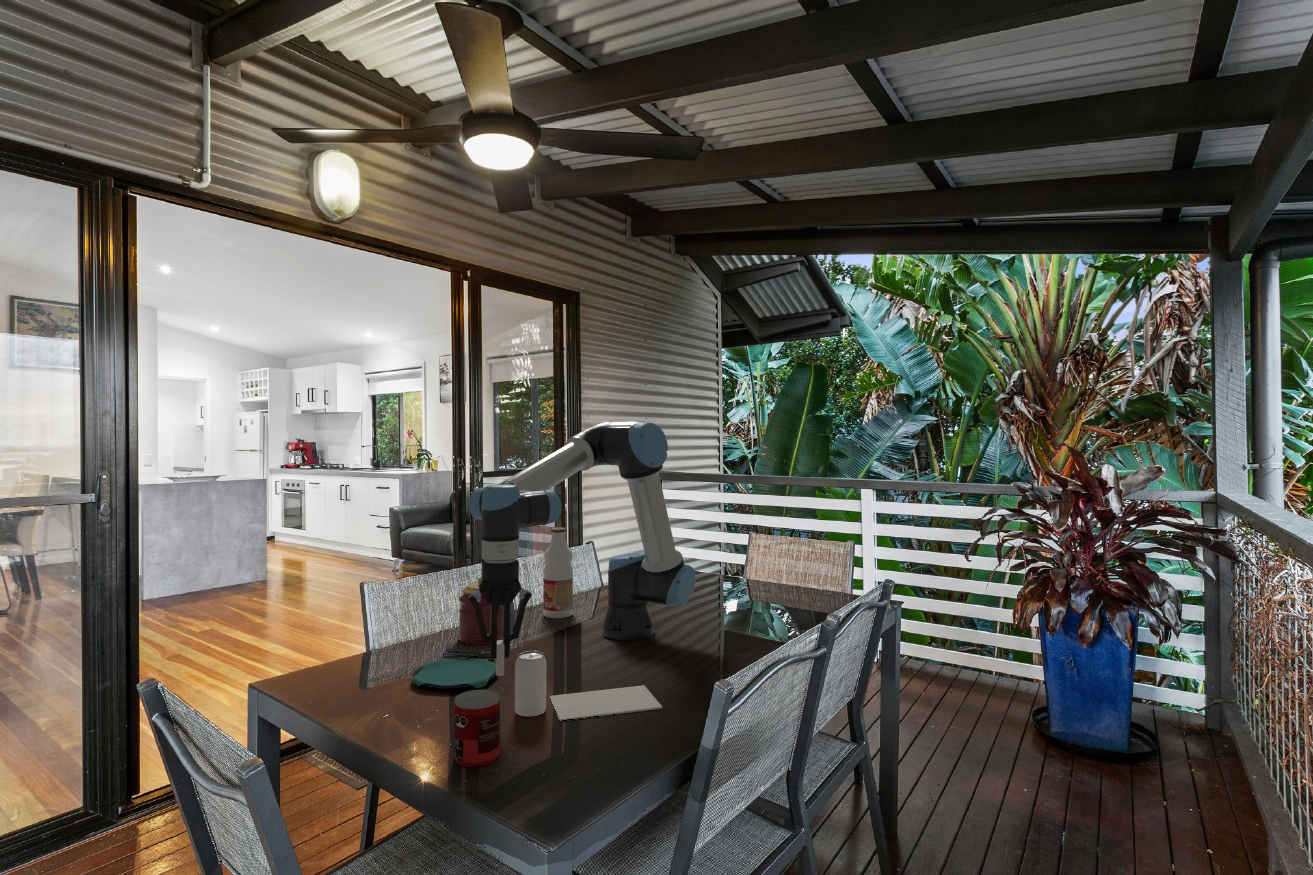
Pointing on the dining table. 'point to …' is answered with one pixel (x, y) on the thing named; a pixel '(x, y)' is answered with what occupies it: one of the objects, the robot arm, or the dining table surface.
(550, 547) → the fruit juice
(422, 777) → the dining table surface
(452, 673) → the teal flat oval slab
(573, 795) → the dining table surface
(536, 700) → the can
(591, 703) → the mat
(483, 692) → the canned food
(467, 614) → the canister
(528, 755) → the dining table surface
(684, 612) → the dining table surface
